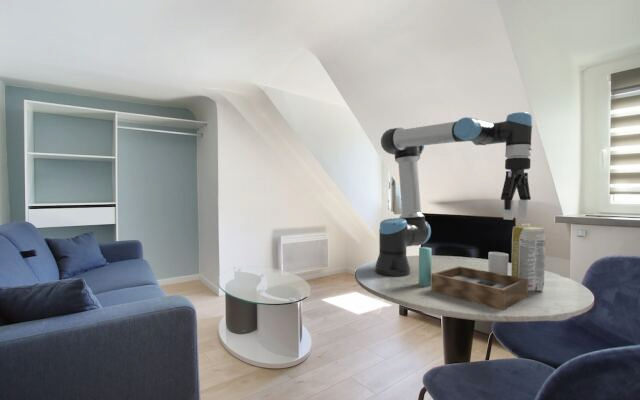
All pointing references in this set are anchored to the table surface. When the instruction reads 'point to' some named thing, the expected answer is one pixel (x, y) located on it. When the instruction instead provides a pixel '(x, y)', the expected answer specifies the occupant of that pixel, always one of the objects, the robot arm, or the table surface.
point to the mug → (498, 263)
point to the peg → (425, 266)
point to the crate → (480, 286)
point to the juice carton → (529, 255)
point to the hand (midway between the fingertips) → (515, 218)
